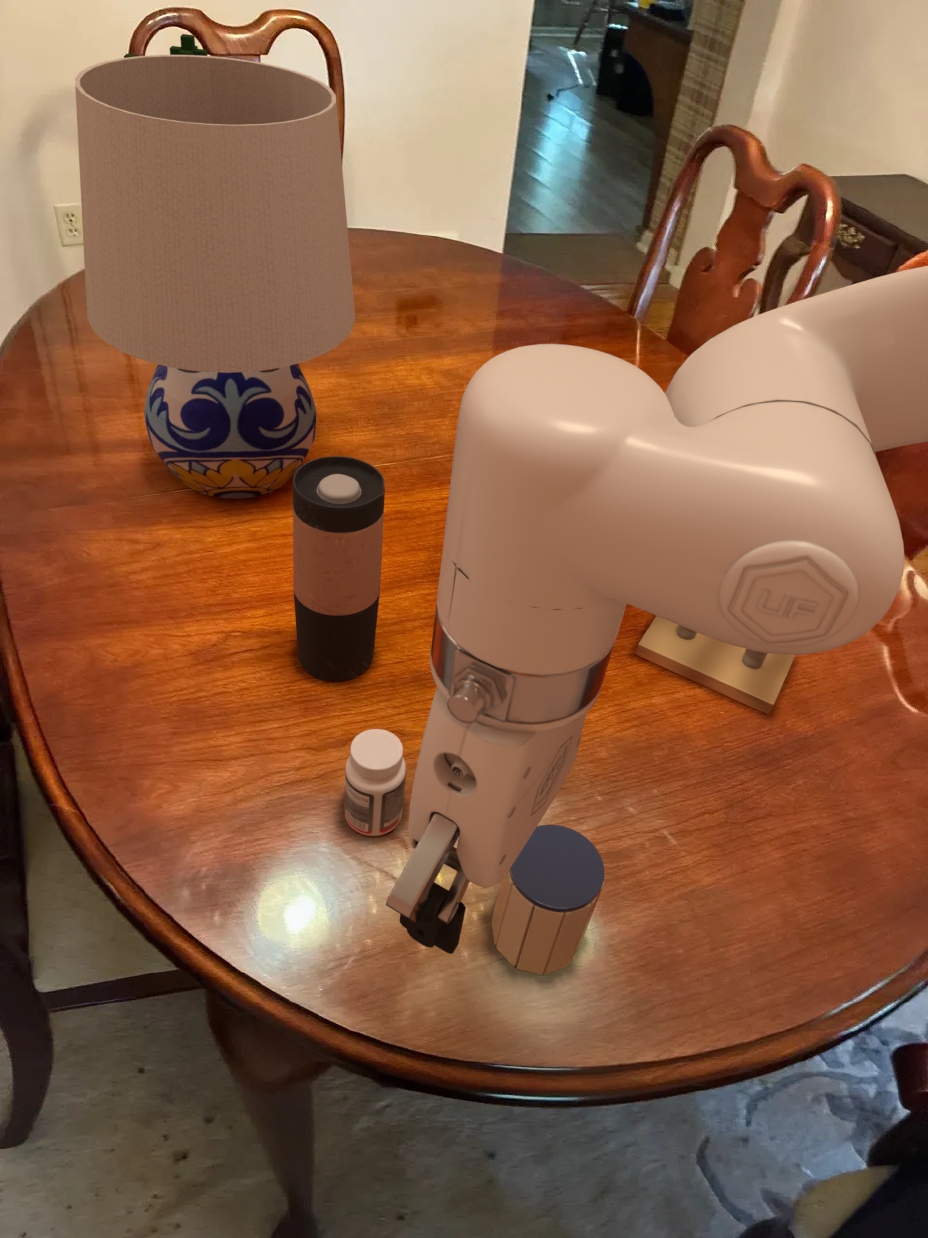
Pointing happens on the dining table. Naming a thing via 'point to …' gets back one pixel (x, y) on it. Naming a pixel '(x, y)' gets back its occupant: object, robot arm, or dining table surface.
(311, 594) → the travel mug
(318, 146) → the table lamp
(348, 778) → the pill bottle
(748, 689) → the double peg stand
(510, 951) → the blue topped tan cylinder
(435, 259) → the dining table surface
